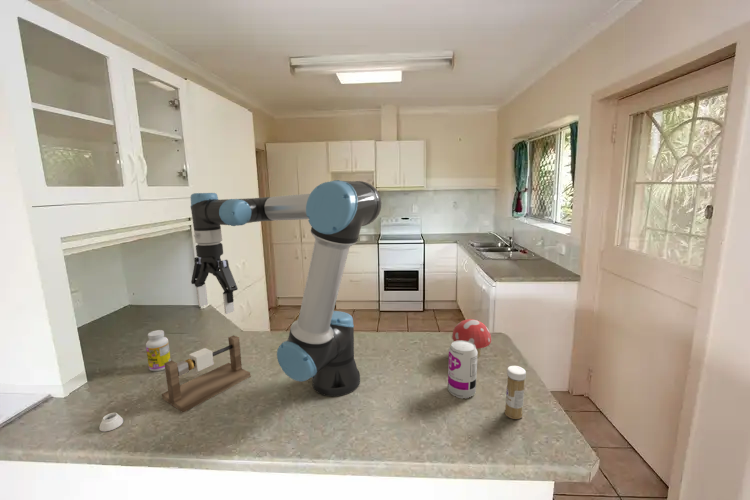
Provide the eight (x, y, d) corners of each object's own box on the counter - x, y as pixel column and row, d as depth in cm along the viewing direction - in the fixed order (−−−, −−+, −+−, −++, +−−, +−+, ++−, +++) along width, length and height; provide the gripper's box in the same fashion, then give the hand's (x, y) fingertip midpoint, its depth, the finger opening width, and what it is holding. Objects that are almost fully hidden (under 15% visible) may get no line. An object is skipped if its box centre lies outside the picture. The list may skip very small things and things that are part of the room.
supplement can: (456, 402, 99) (457, 353, 97) (443, 386, 107) (444, 341, 104) (480, 397, 102) (483, 350, 99) (466, 382, 109) (468, 338, 107)
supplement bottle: (144, 369, 119) (139, 334, 116) (163, 360, 125) (158, 327, 122) (157, 373, 116) (152, 338, 114) (175, 364, 122) (171, 330, 120)
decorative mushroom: (469, 373, 114) (471, 331, 111) (443, 356, 126) (444, 317, 123) (498, 363, 120) (500, 323, 118) (471, 348, 132) (472, 311, 129)
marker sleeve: (213, 364, 106) (212, 351, 106) (197, 371, 102) (196, 357, 102) (206, 360, 109) (205, 347, 108) (190, 367, 105) (189, 354, 104)
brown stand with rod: (250, 376, 114) (247, 340, 111) (183, 412, 96) (177, 370, 93) (229, 366, 120) (225, 332, 118) (162, 398, 102) (156, 359, 100)
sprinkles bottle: (501, 409, 96) (504, 365, 93) (517, 408, 96) (520, 364, 94) (509, 420, 91) (512, 374, 89) (525, 419, 92) (529, 373, 89)
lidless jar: (124, 426, 91) (122, 417, 94) (122, 416, 90) (120, 407, 94) (100, 435, 88) (99, 425, 91) (98, 425, 87) (97, 415, 91)
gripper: (174, 242, 110) (182, 306, 113) (223, 248, 97) (230, 319, 101) (196, 239, 116) (203, 299, 120) (245, 244, 103) (251, 311, 107)
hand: (216, 308), depth 110 cm, fingers open, 13 cm apart
